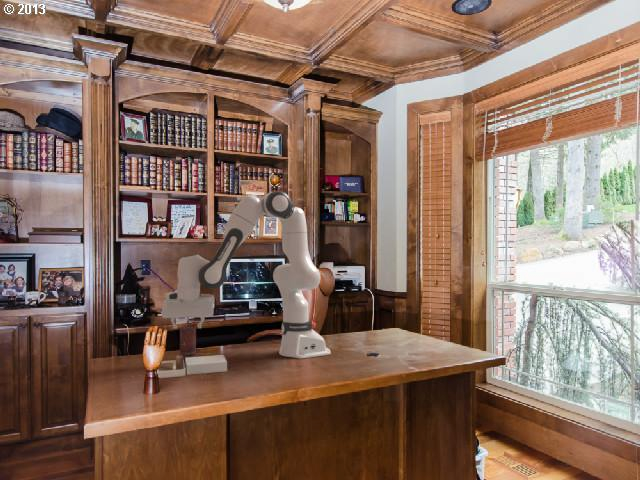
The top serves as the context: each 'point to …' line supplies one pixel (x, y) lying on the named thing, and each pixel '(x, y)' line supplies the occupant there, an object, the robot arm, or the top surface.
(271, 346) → the top surface
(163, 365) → the tile
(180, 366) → the tile
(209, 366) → the white holder base
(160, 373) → the tray
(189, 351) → the can
